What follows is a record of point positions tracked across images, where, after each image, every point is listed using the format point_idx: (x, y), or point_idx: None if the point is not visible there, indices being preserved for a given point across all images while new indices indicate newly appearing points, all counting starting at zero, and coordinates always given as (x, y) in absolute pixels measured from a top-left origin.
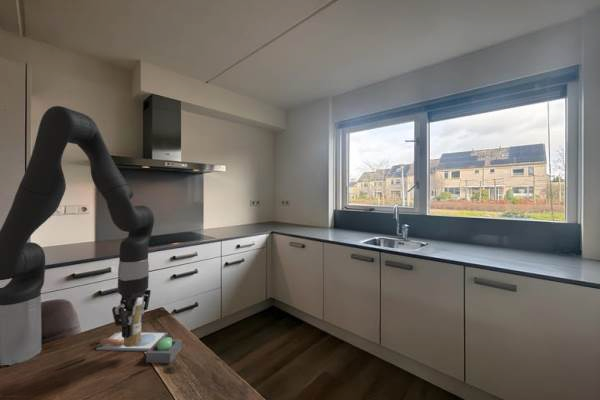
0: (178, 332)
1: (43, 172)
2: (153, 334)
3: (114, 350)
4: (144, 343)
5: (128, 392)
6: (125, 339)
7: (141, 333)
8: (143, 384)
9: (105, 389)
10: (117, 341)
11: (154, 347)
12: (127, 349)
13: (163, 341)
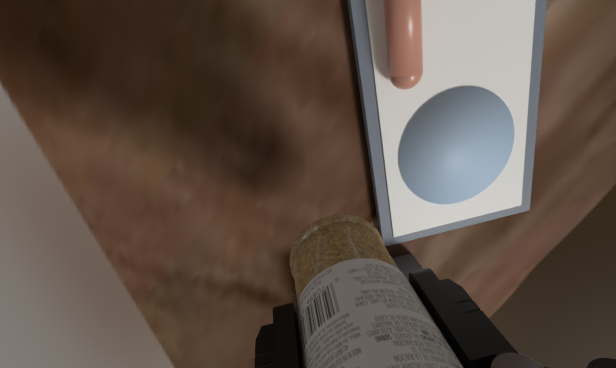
0: (535, 238)
1: None
2: (509, 158)
3: (357, 62)
4: (426, 182)
5: (168, 340)
6: (295, 285)
7: (520, 82)
8: (215, 351)
9: (141, 266)
10: (398, 52)
11: None
12: (370, 138)
13: None
